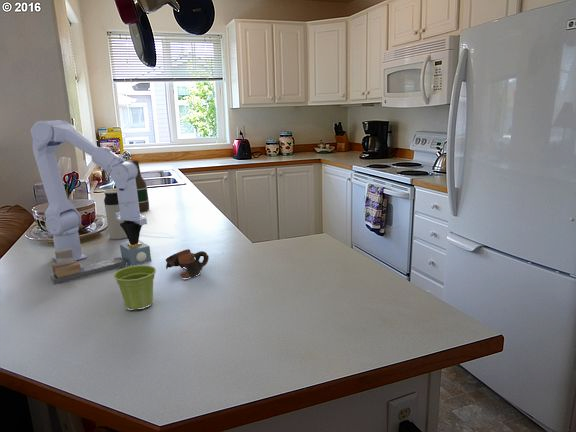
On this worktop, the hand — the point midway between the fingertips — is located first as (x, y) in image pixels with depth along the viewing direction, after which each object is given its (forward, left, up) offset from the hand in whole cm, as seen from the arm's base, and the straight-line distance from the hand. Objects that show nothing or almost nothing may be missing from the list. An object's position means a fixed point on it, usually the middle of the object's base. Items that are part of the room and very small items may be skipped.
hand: (134, 243), depth 132 cm
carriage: (0, -20, -4) cm, 20 cm away
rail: (0, -14, -5) cm, 15 cm away
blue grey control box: (0, 0, -5) cm, 5 cm away
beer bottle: (-69, +29, -6) cm, 75 cm away
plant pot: (+33, -12, -6) cm, 36 cm away
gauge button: (0, 0, -3) cm, 3 cm away
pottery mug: (+23, +6, -6) cm, 24 cm away
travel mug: (-31, +6, -6) cm, 32 cm away
